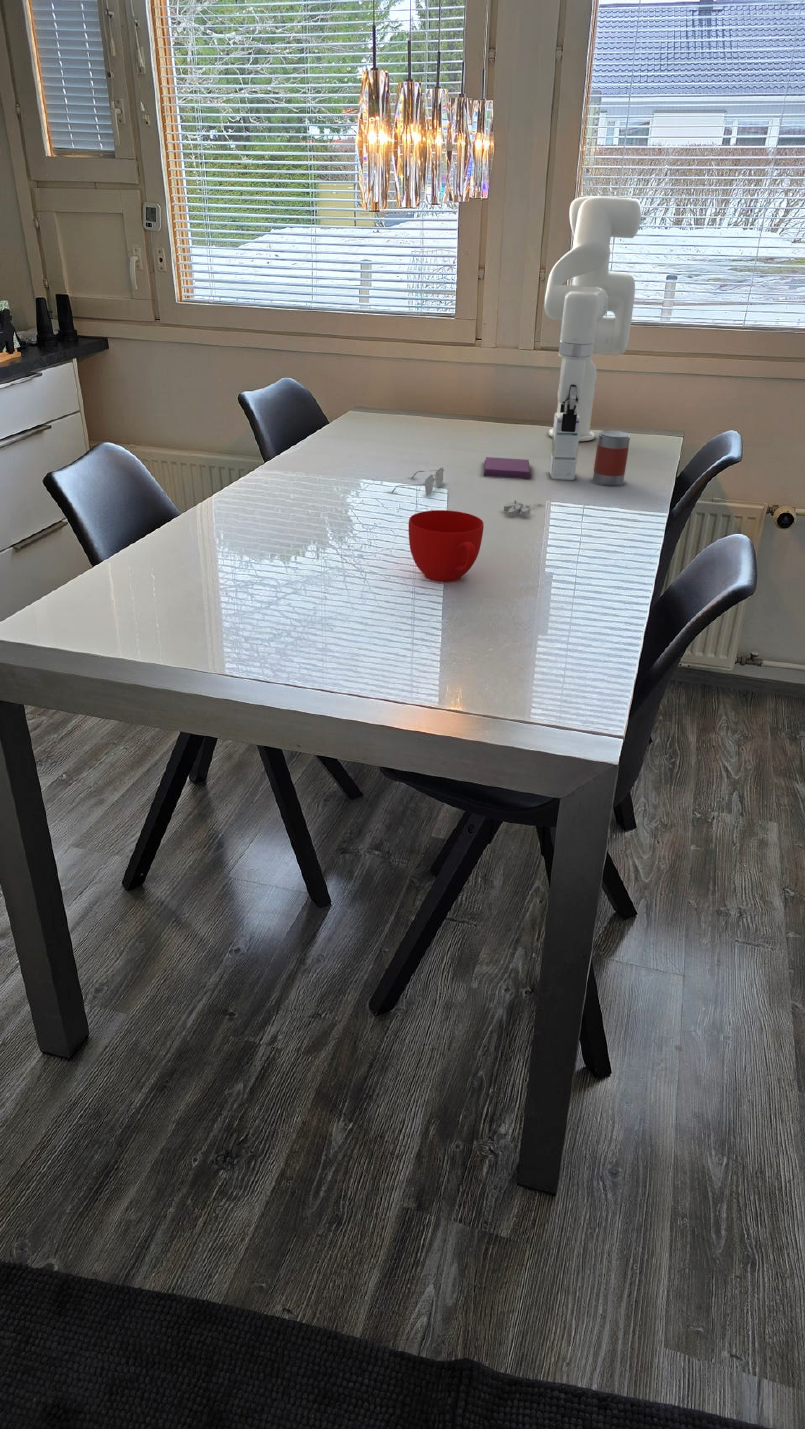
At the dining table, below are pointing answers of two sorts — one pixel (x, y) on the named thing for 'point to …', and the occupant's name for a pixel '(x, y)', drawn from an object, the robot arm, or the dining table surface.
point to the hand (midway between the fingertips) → (566, 426)
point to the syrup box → (564, 450)
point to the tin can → (611, 458)
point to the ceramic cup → (444, 543)
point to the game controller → (517, 508)
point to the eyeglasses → (430, 481)
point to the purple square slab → (507, 467)
